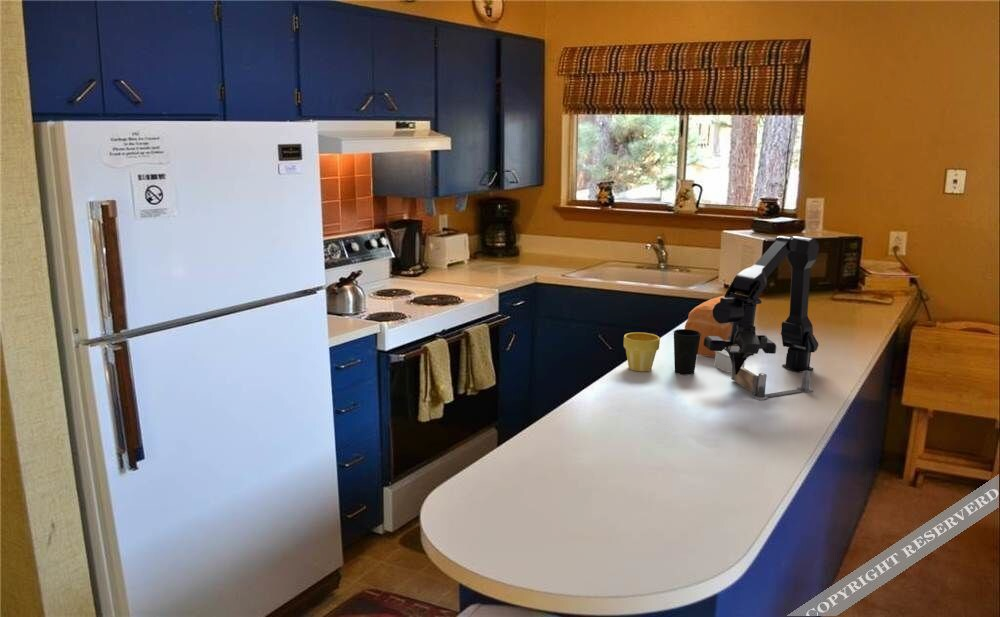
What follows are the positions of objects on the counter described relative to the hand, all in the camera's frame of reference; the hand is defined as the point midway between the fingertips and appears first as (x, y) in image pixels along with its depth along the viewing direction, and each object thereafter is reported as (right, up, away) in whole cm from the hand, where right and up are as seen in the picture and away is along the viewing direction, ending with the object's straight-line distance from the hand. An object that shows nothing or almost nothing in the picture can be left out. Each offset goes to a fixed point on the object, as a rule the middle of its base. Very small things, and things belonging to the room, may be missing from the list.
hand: (735, 374), depth 227 cm
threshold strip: (+11, -5, -6) cm, 13 cm away
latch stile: (+18, -4, -2) cm, 19 cm away
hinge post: (+4, -5, -9) cm, 11 cm away
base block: (+3, +1, +17) cm, 17 cm away
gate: (+2, -3, -1) cm, 4 cm away
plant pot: (-24, 0, +15) cm, 28 cm away
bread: (+5, +6, +39) cm, 40 cm away
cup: (-12, 0, +12) cm, 17 cm away
